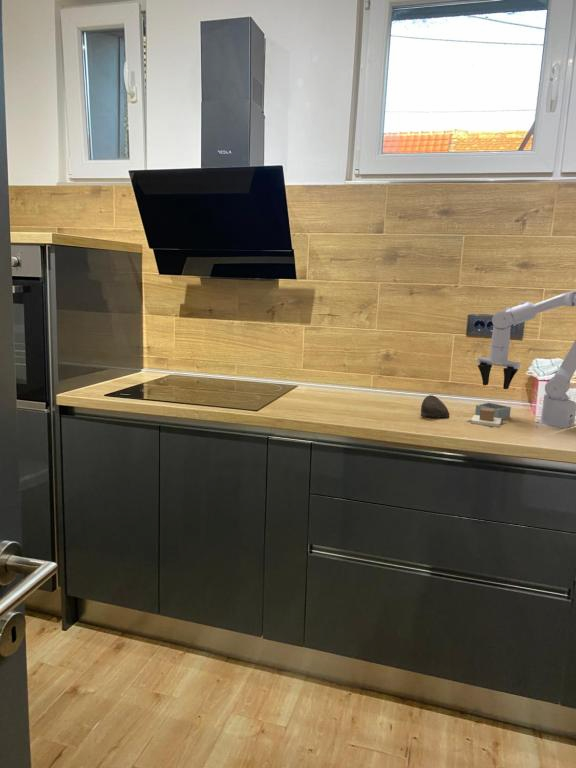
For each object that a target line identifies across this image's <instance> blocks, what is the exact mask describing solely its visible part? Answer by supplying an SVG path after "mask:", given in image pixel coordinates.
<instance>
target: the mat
mask: <svg viewBox="0 0 576 768" xmlns="http://www.w3.org/2000/svg"><path fill="white" fill-rule="evenodd" d="M467 422H468V423H471V419H470V420H466V423H467ZM506 424H507V423H505V422H502V421H501V424H500V426H503V425H506ZM478 425H480V424H478ZM480 426H481V425H480ZM483 426H484V427H488V428H495V426H488V425H482V427H483Z"/></svg>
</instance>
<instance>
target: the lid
mask: <svg viewBox="0 0 576 768" xmlns="http://www.w3.org/2000/svg"><path fill="white" fill-rule="evenodd" d="M494 411H495V409H490V408H481V410H480V415H475V414H473V416H472V417H471V419H470V420H471V422H470V424H473V425H474V424H475V425H479V424H480V426H483V425H488V426H495V427H496V428H500V427H501V425H500V424H501V422H502V420H503V419H502V418H496V417H494ZM495 427H494V428H495Z"/></svg>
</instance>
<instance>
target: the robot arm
mask: <svg viewBox="0 0 576 768" xmlns="http://www.w3.org/2000/svg"><path fill="white" fill-rule="evenodd" d="M519 303H520V304H519V305H515V306H513V307H509V306H508V307H506V308H505V310H498V311H497V312H495V313H494V314H493V316H492V319H491V322H492V325H493V326H492V327H493V328H492V334H491V342H490V351H489V357H482V356H479V357H477V360H476V361H477V364H478V365H477V368H478V370H479V372H480V375H481V376H480V377H481V379H482V385H483V386H488V385H489V381H490V374H491V370H492V368H493V367H492V366H498V367H502V370H503V385H502V386H503V390H508V389H509V387H510V385H511V382H512V381H513V378H514V377H515V375H516V374H517V372H518V371H519V369H521V368H520V366H521V362H518V361H513V360H509V359H508V358H509V351H510V340H511V328H512V327H511V326H513V325H515V326H517V325H518V324H522V323H525V322H528V321H530V320H534V319H536V316H537V314H539V313H542V312H546V311H548V310H552V309H555V308H559V307H563V306H564V307H565V306H566V307H576V290H573V291H568V292H564V293H561V294H559V295H556V296H553V297H551V298H548V299H545V300H542V301H539V302H537V303H532V302H531V301H528V302H526V301H521V302H519ZM575 373H576V339H575V340H574V341H573V343H572V345H571V347H570V349H569V350H568V352H567V354H566V356H565V358H564V359H563V361H562V363H561V365H560V367H559V368H558V369H557V371H556V372H555V374H554V376H553V377H551V378H550V379H549V380H548V381H547V382H546V383H545V385H544V392H545V393H544V395H543V401H542V408H541V418H540V420H536V421H535V423H537V424H540V425H546V426H548V427H549V426H550V427H553V428H559V429H565V430H566V429H569V428H572V427H575V426H576V424H575V421H576V402H575V400H571V399H569V396H568V394H567V392H568V391H569V390H570V387H571V384H570V383H571V380H572V378H573V376H574V374H575Z"/></svg>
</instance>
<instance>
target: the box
mask: <svg viewBox="0 0 576 768" xmlns="http://www.w3.org/2000/svg"><path fill="white" fill-rule="evenodd" d="M481 408H490V409H495V411H494V417H496V418H502V420H506V419H509V418H510V416H511V409H512V407H511V406H507V405H503V404H497V403H493V402H485V403H480V404H479V403H478V404H476V405H475V414H474V415H480V410H481ZM498 408H499V409H498Z"/></svg>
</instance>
